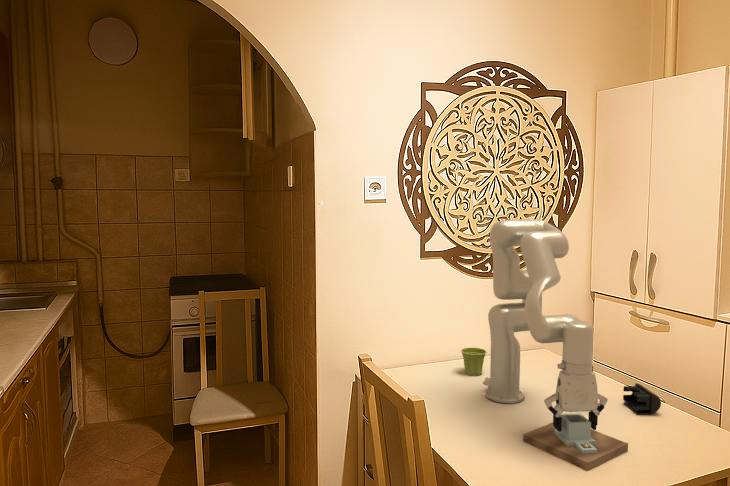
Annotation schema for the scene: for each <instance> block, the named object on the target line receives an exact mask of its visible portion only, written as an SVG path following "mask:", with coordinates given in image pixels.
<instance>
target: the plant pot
mask: <svg viewBox="0 0 730 486" xmlns="http://www.w3.org/2000/svg"><path fill="white" fill-rule="evenodd" d="M460 351H461V354H462V357H463V364H464V365H463V366H464V372H466V373H467V375H469V374H470V375H469V376H475V375H476V376H479V375H480V374H481V375H482V373H483V366H484V361H485V357H486V354H487V350H486V349H484V348H480V347H464V348H462V349H460ZM466 373H465V374H466Z"/></svg>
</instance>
